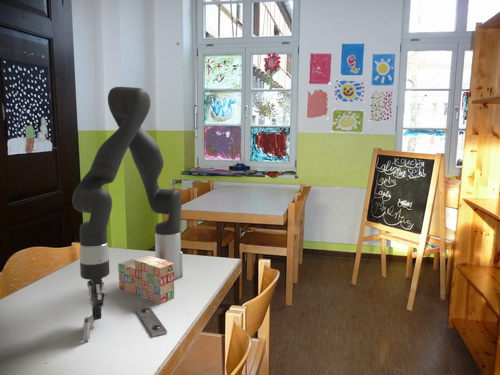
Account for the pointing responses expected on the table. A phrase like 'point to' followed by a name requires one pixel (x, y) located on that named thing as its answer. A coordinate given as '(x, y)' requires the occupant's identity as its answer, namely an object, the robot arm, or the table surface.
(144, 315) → the bolt strip
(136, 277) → the stack of blocks
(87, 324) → the caliper
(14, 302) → the table surface
